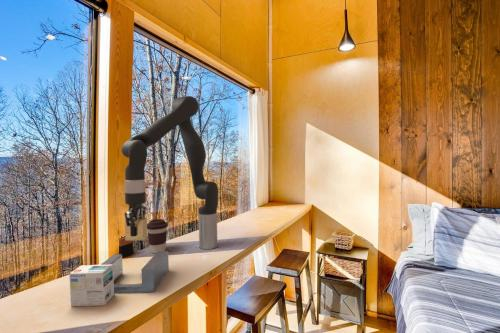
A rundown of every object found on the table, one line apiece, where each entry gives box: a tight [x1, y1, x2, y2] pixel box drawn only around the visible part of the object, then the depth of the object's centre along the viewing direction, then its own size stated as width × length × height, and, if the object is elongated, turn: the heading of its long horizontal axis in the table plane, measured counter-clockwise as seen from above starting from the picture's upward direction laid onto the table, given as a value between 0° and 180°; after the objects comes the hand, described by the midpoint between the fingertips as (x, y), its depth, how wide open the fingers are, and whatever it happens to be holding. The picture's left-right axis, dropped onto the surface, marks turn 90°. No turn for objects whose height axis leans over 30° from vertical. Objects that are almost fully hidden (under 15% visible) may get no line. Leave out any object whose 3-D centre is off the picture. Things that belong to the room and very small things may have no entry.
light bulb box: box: [69, 264, 115, 307], centre depth 86 cm, size 11×7×11 cm, turn 92°
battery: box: [119, 236, 134, 258], centre depth 125 cm, size 4×7×10 cm, turn 152°
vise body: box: [114, 250, 170, 294], centre depth 99 cm, size 17×26×8 cm, turn 90°
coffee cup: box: [147, 218, 169, 254], centre depth 130 cm, size 10×10×15 cm
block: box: [124, 217, 148, 241], centre depth 105 cm, size 4×7×8 cm, turn 89°
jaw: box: [100, 253, 124, 282], centre depth 99 cm, size 12×7×8 cm, turn 0°
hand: (136, 234), depth 105 cm, fingers closed on block, 4 cm apart
